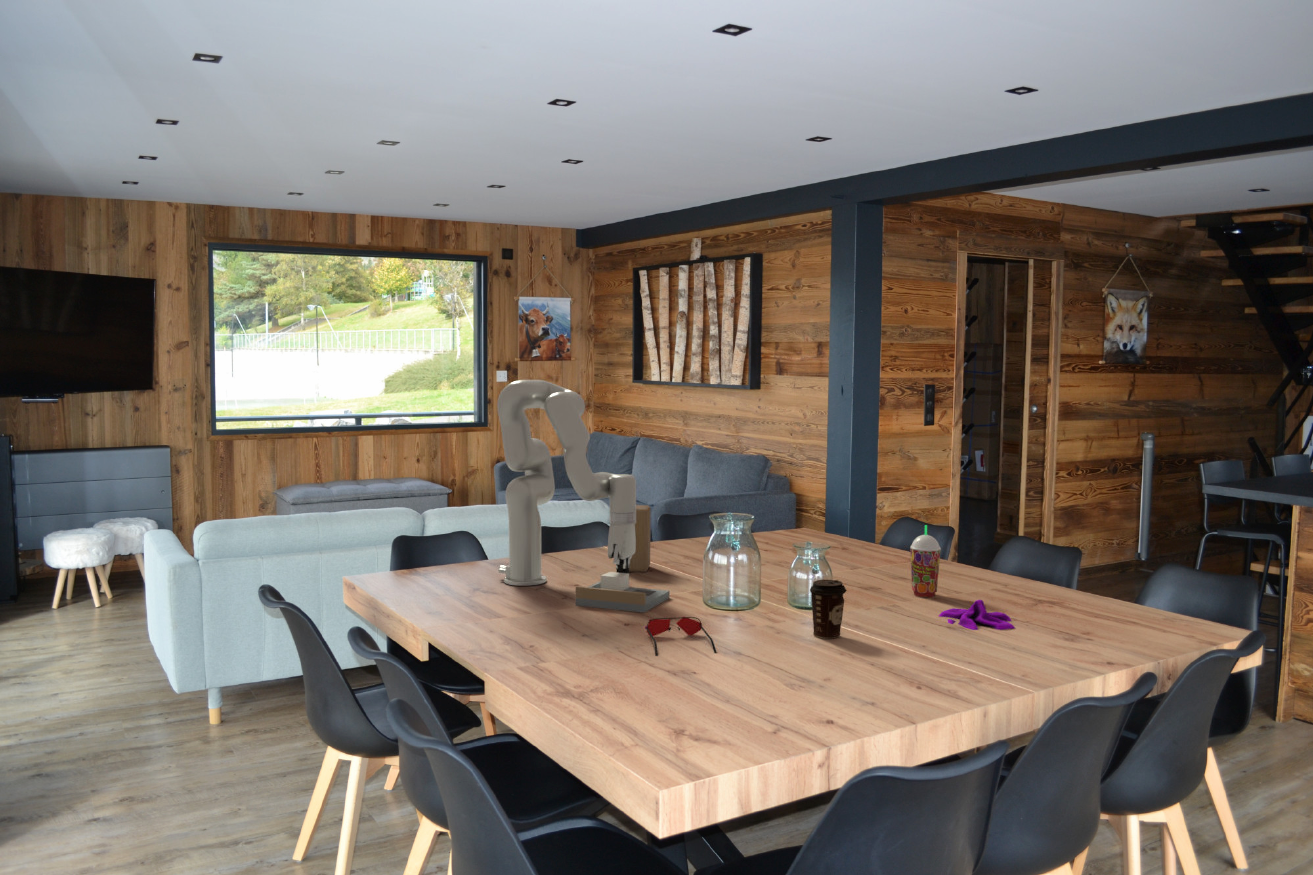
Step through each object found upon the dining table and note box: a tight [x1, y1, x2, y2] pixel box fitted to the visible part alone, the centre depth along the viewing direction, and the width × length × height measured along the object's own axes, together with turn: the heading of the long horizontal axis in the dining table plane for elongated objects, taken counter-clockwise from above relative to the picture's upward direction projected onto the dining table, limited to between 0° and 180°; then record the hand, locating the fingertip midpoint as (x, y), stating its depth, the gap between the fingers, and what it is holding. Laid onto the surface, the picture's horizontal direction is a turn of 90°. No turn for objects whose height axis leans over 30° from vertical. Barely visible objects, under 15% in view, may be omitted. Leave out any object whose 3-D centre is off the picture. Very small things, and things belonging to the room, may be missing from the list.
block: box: [615, 504, 652, 573], centre depth 312 cm, size 10×10×20 cm
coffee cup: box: [809, 579, 847, 640], centre depth 235 cm, size 9×8×13 cm
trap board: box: [575, 580, 670, 613], centre depth 269 cm, size 20×18×5 cm
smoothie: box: [909, 524, 942, 598], centre depth 278 cm, size 8×8×20 cm
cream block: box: [600, 571, 630, 591], centre depth 275 cm, size 6×6×4 cm
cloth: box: [938, 599, 1016, 631], centre depth 249 cm, size 22×19×6 cm
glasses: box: [644, 616, 718, 657], centre depth 227 cm, size 14×16×5 cm
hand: (622, 581), depth 280 cm, fingers closed
